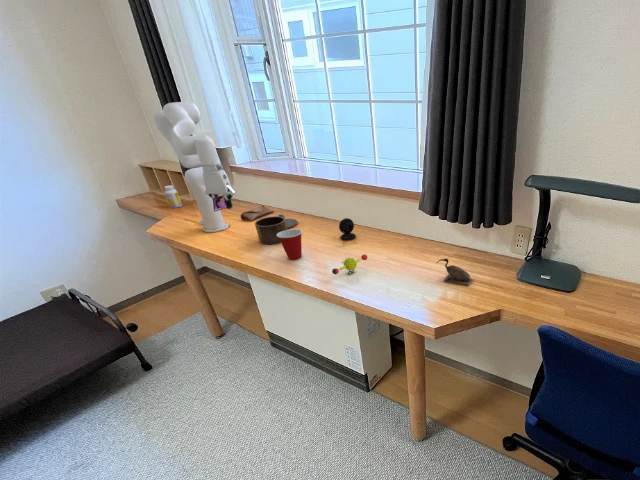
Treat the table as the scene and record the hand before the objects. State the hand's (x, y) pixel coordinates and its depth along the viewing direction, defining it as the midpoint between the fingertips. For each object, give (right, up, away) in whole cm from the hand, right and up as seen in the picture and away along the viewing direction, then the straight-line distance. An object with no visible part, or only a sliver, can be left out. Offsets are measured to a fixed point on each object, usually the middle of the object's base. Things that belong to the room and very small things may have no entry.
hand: (224, 207), depth 169 cm
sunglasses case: (-3, +6, +42) cm, 43 cm away
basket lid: (+17, -2, +27) cm, 32 cm away
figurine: (+105, -36, -28) cm, 114 cm away
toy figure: (+64, -32, -21) cm, 75 cm away
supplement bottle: (-65, +16, +62) cm, 91 cm away
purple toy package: (0, -1, 0) cm, 1 cm away
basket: (+19, -13, +11) cm, 26 cm away
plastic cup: (+35, -24, -7) cm, 44 cm away
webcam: (+56, -13, +10) cm, 58 cm away
